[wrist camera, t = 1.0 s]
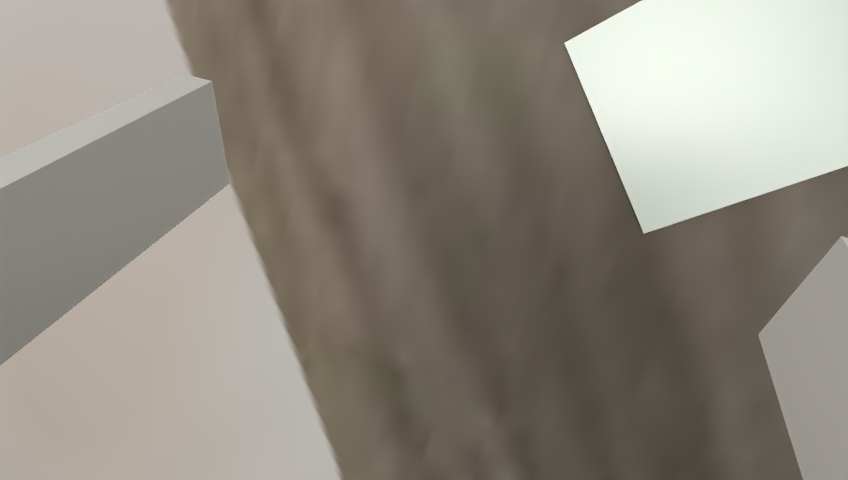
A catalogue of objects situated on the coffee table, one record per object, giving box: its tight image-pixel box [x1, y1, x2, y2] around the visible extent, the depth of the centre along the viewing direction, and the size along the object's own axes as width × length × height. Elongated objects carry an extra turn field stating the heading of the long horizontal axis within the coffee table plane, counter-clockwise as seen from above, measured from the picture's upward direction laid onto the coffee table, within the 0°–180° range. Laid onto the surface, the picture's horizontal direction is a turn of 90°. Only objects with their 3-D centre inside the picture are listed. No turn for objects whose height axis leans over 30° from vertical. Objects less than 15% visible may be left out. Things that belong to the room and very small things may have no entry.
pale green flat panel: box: [565, 0, 848, 233], centre depth 25 cm, size 12×12×1 cm
